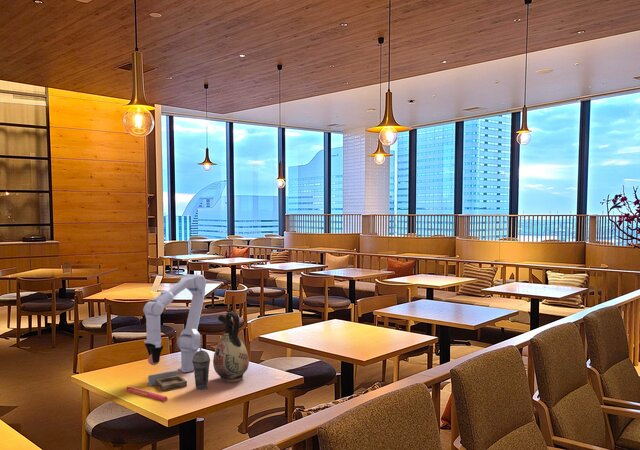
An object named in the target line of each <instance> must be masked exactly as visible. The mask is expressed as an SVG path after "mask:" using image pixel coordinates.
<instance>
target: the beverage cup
mask: <svg viewBox="0 0 640 450" xmlns="http://www.w3.org/2000/svg"><path fill="white" fill-rule="evenodd" d="M201 342H202V339H201V338H200V347H199V349H200V351H198V352H196V353H195V354H194V356H193V360H192V362H193V367H194V371H193V373H194V374H193V375H194V383H195V388H196V389H195V390H196V391H205V390H208V385H209V371H210V363H211V357H210V354H209V353H208V352H207V351H206V350H202V343H201Z"/></svg>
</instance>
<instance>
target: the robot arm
mask: <svg viewBox="0 0 640 450" xmlns="http://www.w3.org/2000/svg"><path fill="white" fill-rule="evenodd" d="M206 285H207V280H206V278H205V276H204V275H202V274H189V273H187V274H184V276H181V278H180V280H179V281H178V282H177V283H176V284H175V285H174V286H172V287H171V288H170V289H169V290H164V291H160V294H159V295H157V296H156V297H154V298H153V299H152V301H147V302H146V303H145V305H144V307H143V308H142V311H143V314H144V315H145V320H146V322H145V323H146V340H145V339H144V340H143V343H145V344H144V346H145V348H146V350H147V353H148V356H149V355H150V354H152V359H153V363H157V362H159V363H160V361H159V358H160V359H161V353H162V351H163V349H164V345H162V337H161V336H162V335H161V333H162V332H161V315H162V313H163V311H164V309H165V308H166V307H168V305H170V304H171V303H172V302H174V297H176V296H177V295H179V294H180V293H181V292H182V291H185V290H186V289H187V290H188V291H189V292H190V293H191V295H192V297H191V301H190V302H191V303H190V306H189V311H188V315H187V320H186V325H185V328H184V329H183V330H182V331H181V332H180V335H179V337H178V338H177V342H176V343H177V344H176V345H177V347H178V348H179V351H180V360H181V361H180V365H181V366H180V367H178V370H180V371H181V372H183V373H188V372H190V373H191V372H194V367H193V362H192V360H193V356H194V354H195V353H196V352H198V351H200V339H201V334H200V332H199V331H198V327H199V324H200V319H201V314H202V309H203V306H204V305H203V304H204V301H205V295H206Z"/></svg>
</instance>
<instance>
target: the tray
mask: <svg viewBox="0 0 640 450" xmlns="http://www.w3.org/2000/svg"><path fill="white" fill-rule="evenodd" d="M155 386H156V387H157V388H159V389H160V390H161V391H162V392H167V391H171V390H177V389H182V388H186V387H187V386H188V381H187V380H186V379H184V378H183V377H182V376H181V375H179V374H177V376H172V377H167V378H162V379H157V380H156V384H155Z"/></svg>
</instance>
